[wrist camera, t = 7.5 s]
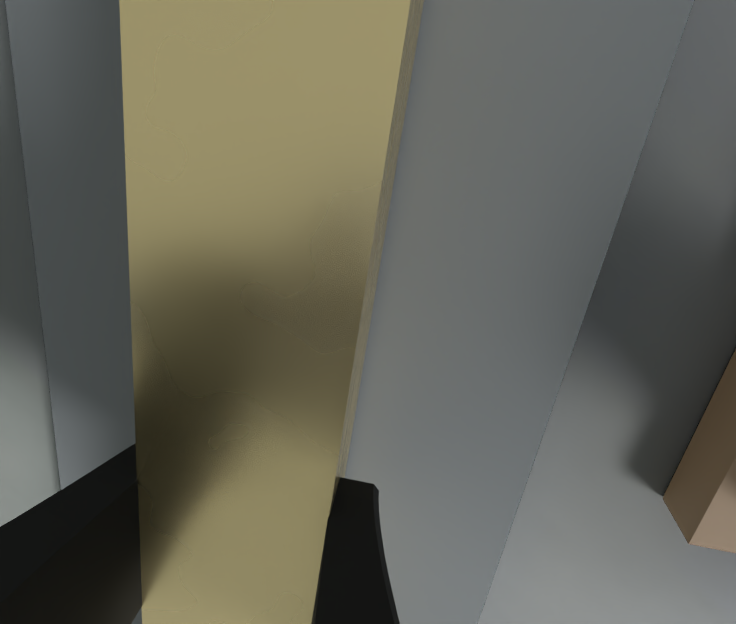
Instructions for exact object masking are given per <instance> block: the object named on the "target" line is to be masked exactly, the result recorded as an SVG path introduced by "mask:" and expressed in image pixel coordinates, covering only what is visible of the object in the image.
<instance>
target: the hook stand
mask: <svg viewBox="0 0 736 624" xmlns="http://www.w3.org/2000/svg"><path fill="white" fill-rule="evenodd" d="M663 500H664V502H665V504H666V505H667V507H668V509H669V511H670V512H671V514H672V516H673V517H674V519H675V521H676V523H677V524H678V526H679V528H680V530H681V531H682V533H683V535H684V537H685V538H686V540H687V542H688V544H692V545H697V546H702V547H707V548H712V549H717V550H722V551H727V552H732V553H736V349H735V351H734V353H733V355H732V358H731V360H730V362H729V364H728V366H727V368H726V370H725V372H724V374H723V376H722V378H721V380H720V382H719V384H718V386H717V388H716V390H715V392H714V394H713V396H712V398H711V400H710V402H709V404H708V406H707V409H706V411H705V413H704V415H703V417H702V419H701V421H700V423H699V425H698V427H697V429H696V431H695V433H694V435H693V437H692V439H691V441H690V443H689V445H688V447H687V449H686V451H685V453H684V455H683V457H682V460H681V462H680V464H679V466H678V468H677V470H676V472H675V474H674V476H673V478H672V480H671V482H670V484H669V486H668V488H667V490H666V492H665V494H664V496H663Z"/></svg>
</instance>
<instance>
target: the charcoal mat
mask: <svg viewBox="0 0 736 624" xmlns="http://www.w3.org/2000/svg"><path fill="white" fill-rule="evenodd" d="M694 1H695V0H424V4H423V10H422V16H421V22H420V28H419V34H418V40H417V46H416V52H415V58H414V64H413V70H412V76H411V82H410V88H409V94H408V100H407V106H406V112H405V118H404V124H403V130H402V136H401V141H400V147H399V153H398V159H397V165H396V171H395V177H394V183H393V189H392V195H391V201H390V207H389V213H388V219H387V225H386V231H385V237H384V243H383V249H382V255H381V261H380V267H379V273H378V279H377V285H376V291H375V297H374V303H373V309H372V315H371V321H370V327H369V333H368V339H367V345H366V351H365V357H364V363H363V369H362V375H361V381H360V387H359V393H358V399H357V405H356V411H355V417H354V423H353V429H352V435H351V441H350V447H349V453H348V459H347V465H346V471H345V477H344V478H347V479H352V480H357V481H362V482H367V483H372V484H374V485H375V486H376V487H377V489H378V490H379V516H380V526H381V534H382V540H383V547H384V553H385V559H386V564H387V569H388V574H389V579H390V583H391V588H392V592H393V597H394V601H395V606H396V610H397V614H398V618H399V622H400V624H478V621H479V618H480V615H481V613H482V610H483V607H484V604H485V601H486V598H487V595H488V592H489V590H490V587H491V584H492V581H493V578H494V575H495V572H496V569H497V567H498V564H499V561H500V558H501V555H502V552H503V549H504V546H505V544H506V541H507V538H508V535H509V532H510V529H511V526H512V524H513V521H514V518H515V515H516V512H517V509H518V506H519V503H520V501H521V498H522V495H523V492H524V489H525V486H526V483H527V480H528V478H529V475H530V472H531V469H532V466H533V463H534V460H535V457H536V455H537V452H538V449H539V446H540V443H541V440H542V437H543V434H544V432H545V429H546V426H547V423H548V420H549V417H550V414H551V411H552V409H553V406H554V403H555V400H556V397H557V394H558V391H559V388H560V386H561V383H562V380H563V377H564V374H565V371H566V368H567V365H568V363H569V360H570V357H571V354H572V351H573V348H574V345H575V342H576V340H577V337H578V334H579V331H580V328H581V325H582V322H583V319H584V317H585V314H586V311H587V308H588V305H589V302H590V299H591V297H592V294H593V291H594V288H595V285H596V282H597V279H598V276H599V274H600V271H601V268H602V265H603V262H604V259H605V256H606V253H607V251H608V248H609V245H610V242H611V239H612V236H613V233H614V230H615V228H616V225H617V222H618V219H619V216H620V213H621V210H622V207H623V205H624V202H625V199H626V196H627V193H628V190H629V187H630V184H631V182H632V179H633V176H634V173H635V170H636V167H637V164H638V161H639V159H640V156H641V153H642V150H643V147H644V144H645V141H646V138H647V136H648V133H649V130H650V127H651V124H652V121H653V118H654V115H655V113H656V110H657V107H658V104H659V101H660V98H661V95H662V92H663V90H664V87H665V84H666V81H667V78H668V75H669V72H670V69H671V67H672V64H673V61H674V58H675V55H676V52H677V49H678V47H679V44H680V41H681V38H682V35H683V32H684V29H685V26H686V24H687V21H688V18H689V15H690V12H691V9H692V6H693V3H694ZM5 5H6V14H7V22H8V31H9V40H10V49H11V57H12V66H13V75H14V84H15V92H16V101H17V110H18V119H19V127H20V136H21V145H22V154H23V162H24V171H25V180H26V189H27V197H28V206H29V215H30V224H31V232H32V241H33V250H34V259H35V268H36V276H37V285H38V294H39V303H40V311H41V320H42V329H43V338H44V346H45V355H46V364H47V373H48V381H49V390H50V399H51V408H52V416H53V425H54V434H55V443H56V451H57V460H58V469H59V478H60V486H61V490H62V489H64V488H65V487H67V486H68V485H70V484H72V483H73V482H75V481H76V480H78V479H79V478H81V477H83V476H84V475H86V474H87V473H89V472H91V471H92V470H94V469H95V468H97V467H98V466H100V465H102V464H103V463H105V462H106V461H108V460H109V459H111V458H113V457H114V456H116V455H117V454H119V453H120V452H122V451H124V450H125V449H127V448H128V447H130V446H132V445H133V444H135V443H136V442H135V415H134V388H133V361H132V333H131V306H130V279H129V251H128V224H127V197H126V170H125V142H124V115H123V88H122V60H121V33H120V6H119V0H5ZM131 624H142V607H141V608H140V610H139V612H138V613H137V615H136V617H135V618H134V620H133V622H132V623H131Z"/></svg>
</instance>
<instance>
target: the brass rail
mask: <svg viewBox="0 0 736 624" xmlns="http://www.w3.org/2000/svg"><path fill="white" fill-rule="evenodd" d="M423 4H424V0H119V6H120V33H121V60H122V88H123V115H124V142H125V170H126V197H127V224H128V251H129V279H130V306H131V333H132V361H133V388H134V415H135V442H136V470H137V480H138V498H139V527H140V555H141V583H142V624H311V623H312V616H313V610H314V603H315V597H316V591H317V584H318V578H319V571H320V565H321V559H322V552H323V546H324V539H325V533H326V527H327V520H328V519H329V516H330V512H331V509H332V505H333V501H334V498H335V494H336V490H337V487H338V483H339V480H340V477H342V478H344V477H345V471H346V465H347V459H348V453H349V447H350V441H351V435H352V429H353V423H354V417H355V411H356V405H357V399H358V393H359V387H360V381H361V375H362V369H363V363H364V357H365V351H366V345H367V339H368V333H369V327H370V321H371V315H372V309H373V303H374V297H375V291H376V285H377V279H378V273H379V267H380V261H381V255H382V249H383V243H384V237H385V231H386V225H387V219H388V213H389V207H390V201H391V195H392V189H393V183H394V177H395V171H396V165H397V159H398V153H399V147H400V141H401V136H402V130H403V124H404V118H405V112H406V106H407V100H408V94H409V88H410V82H411V76H412V70H413V64H414V58H415V52H416V46H417V40H418V34H419V28H420V22H421V16H422V10H423Z"/></svg>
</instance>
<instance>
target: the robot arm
mask: <svg viewBox="0 0 736 624" xmlns="http://www.w3.org/2000/svg"><path fill="white" fill-rule="evenodd" d="M141 607H142V583H141V555H140V527H139V498H138V480H137V470H136V443H135V444H133V445H132V446H130V447H128V448H127V449H125V450H124V451H122V452H120V453H119V454H117V455H116V456H114V457H113V458H111V459H109V460H108V461H106V462H105V463H103V464H102V465H100V466H98V467H97V468H95V469H94V470H92V471H91V472H89V473H87V474H86V475H84V476H83V477H81V478H79V479H78V480H76V481H75V482H73V483H72V484H70V485H68V486H67V487H65V488H64V489H62V490H60V491H59V492H57V493H56V494H54V495H52V496H51V497H49V498H47V499H46V500H44V501H43V502H41V503H39V504H38V505H36V506H34V507H33V508H31V509H30V510H28V511H26V512H25V513H23V514H21V515H20V516H18V517H16V518H15V519H13V520H11V521H10V522H8V523H6V524H4V525H3V526H1V527H0V624H131V623H132V622H133V620H134V618H135V617H136V615H137V613H138V612H139V610H140V608H141ZM311 624H400V622H399V618H398V614H397V610H396V606H395V601H394V597H393V592H392V588H391V583H390V579H389V574H388V569H387V564H386V559H385V553H384V547H383V540H382V534H381V526H380V516H379V490H378V489H377V487H376V486H375V485H374V484H372V483H367V482H362V481H357V480H352V479H347V478H342V477H340V480H339V483H338V487H337V490H336V494H335V498H334V501H333V505H332V509H331V512H330V516H329V519H328V520H327V527H326V533H325V539H324V546H323V552H322V559H321V565H320V571H319V578H318V584H317V591H316V597H315V603H314V610H313V616H312V623H311Z"/></svg>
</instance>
